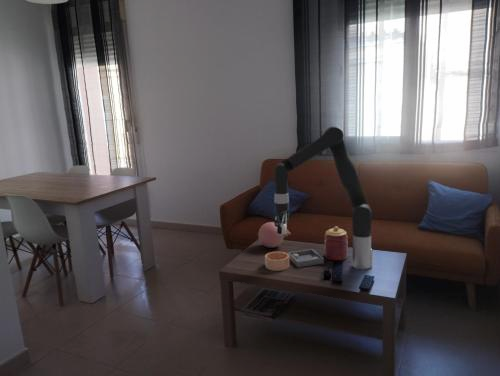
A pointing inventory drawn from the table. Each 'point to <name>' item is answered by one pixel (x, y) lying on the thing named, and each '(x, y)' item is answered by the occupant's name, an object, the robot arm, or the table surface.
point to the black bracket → (326, 275)
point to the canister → (336, 244)
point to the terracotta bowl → (277, 261)
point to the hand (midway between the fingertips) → (281, 232)
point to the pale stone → (284, 229)
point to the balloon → (270, 235)
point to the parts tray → (306, 258)
